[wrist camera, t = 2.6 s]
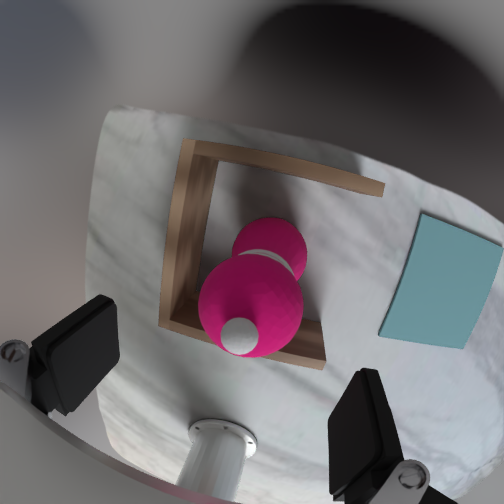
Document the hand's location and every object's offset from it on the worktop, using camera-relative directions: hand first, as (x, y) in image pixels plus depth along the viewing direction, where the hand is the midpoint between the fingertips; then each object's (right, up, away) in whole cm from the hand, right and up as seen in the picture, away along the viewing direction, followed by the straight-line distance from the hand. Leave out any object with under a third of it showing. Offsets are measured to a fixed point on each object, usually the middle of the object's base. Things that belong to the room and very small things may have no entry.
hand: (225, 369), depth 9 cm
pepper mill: (+3, +5, +22) cm, 23 cm away
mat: (+27, -1, +19) cm, 33 cm away
